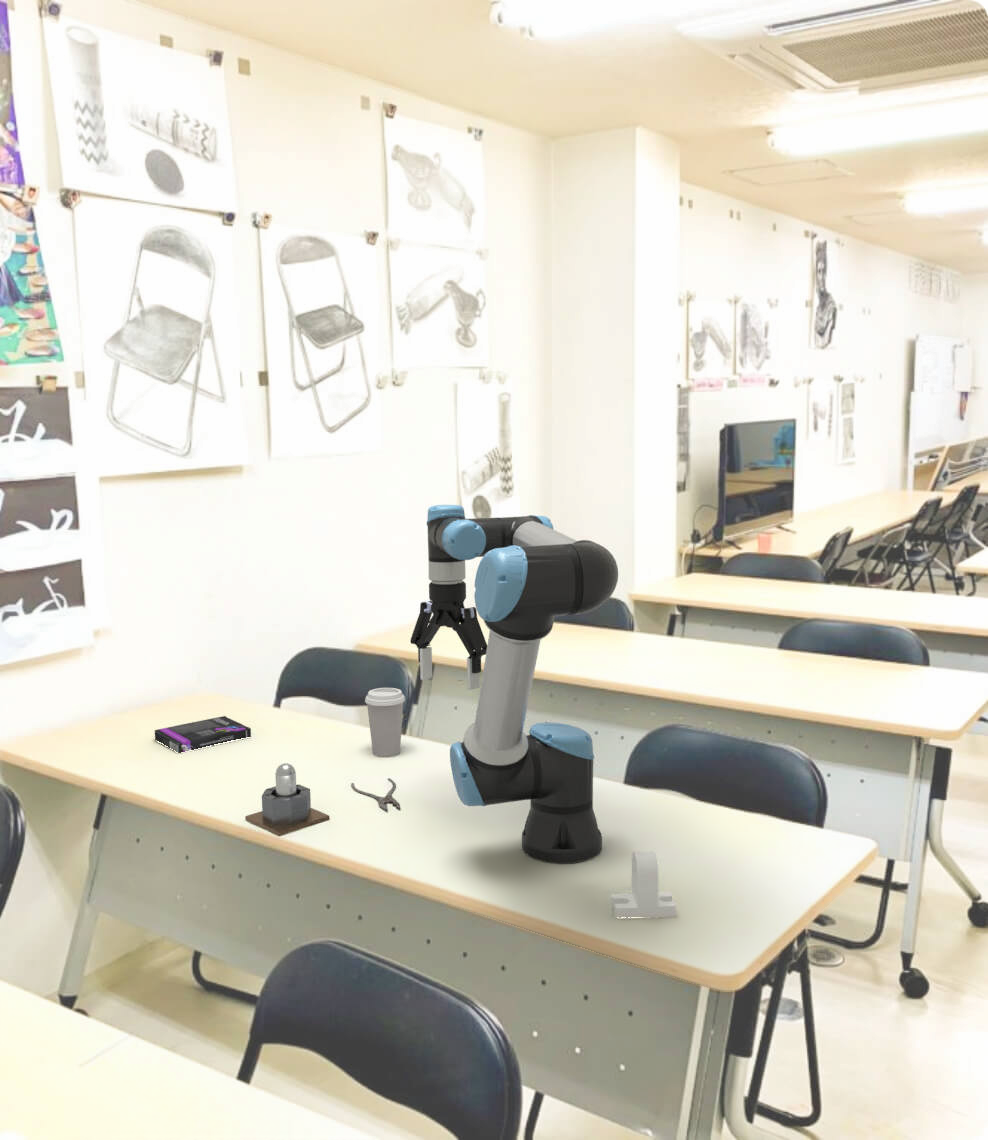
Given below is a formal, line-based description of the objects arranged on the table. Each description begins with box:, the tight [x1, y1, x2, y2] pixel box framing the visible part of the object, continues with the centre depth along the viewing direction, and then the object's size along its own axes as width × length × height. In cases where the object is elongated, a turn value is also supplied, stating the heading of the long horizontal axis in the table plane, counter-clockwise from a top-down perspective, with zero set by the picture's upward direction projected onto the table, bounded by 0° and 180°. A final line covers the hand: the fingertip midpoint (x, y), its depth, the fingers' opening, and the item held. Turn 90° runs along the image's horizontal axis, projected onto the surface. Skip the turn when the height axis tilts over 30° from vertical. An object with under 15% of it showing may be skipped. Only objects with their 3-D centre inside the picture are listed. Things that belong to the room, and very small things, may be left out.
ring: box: [261, 784, 312, 825], centre depth 223 cm, size 9×9×5 cm
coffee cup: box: [364, 687, 406, 758], centre depth 264 cm, size 10×10×15 cm
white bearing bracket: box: [610, 851, 677, 918], centre depth 182 cm, size 5×10×10 cm, turn 93°
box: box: [154, 715, 252, 754], centre depth 278 cm, size 14×4×20 cm
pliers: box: [350, 777, 402, 813], centre depth 238 cm, size 10×1×20 cm
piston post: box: [244, 763, 331, 837], centre depth 223 cm, size 12×12×12 cm
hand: (449, 683), depth 228 cm, fingers open, 13 cm apart
